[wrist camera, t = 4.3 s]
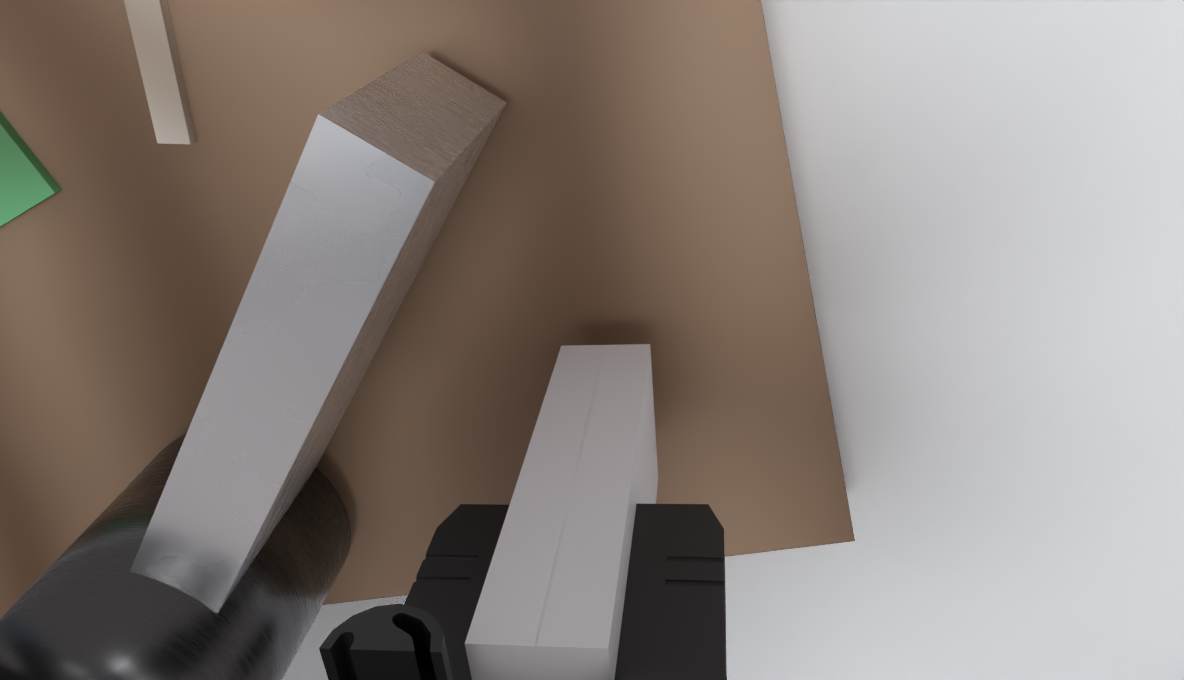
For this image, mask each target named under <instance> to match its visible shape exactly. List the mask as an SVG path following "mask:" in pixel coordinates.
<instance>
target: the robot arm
mask: <svg viewBox="0 0 1184 680" xmlns="http://www.w3.org/2000/svg"><path fill="white" fill-rule="evenodd" d="M657 487H658V465H657V448H656V432H655V415H654V398H653V382H652V365H651V349H650V344H626V345H566V346H561V348H560V351H559V354H558V357H557V360H556V363H555V366H554V370H553V373H552V376H551V379H550V382H549V385H548V388H547V391H546V394H545V397H544V400H543V403H542V407H541V410H540V413H539V416H538V419H537V422H536V425H535V428H534V431H533V434H532V437H531V440H530V444H529V447H528V450H527V453H526V456H525V459H524V462H523V465H522V468H521V471H520V474H519V477H518V481H517V484H516V487H515V490H514V493H513V496H512V499H511V502H510V505H497V504H460V505H459V506H458V507H457V508H456V509H455V510H454V511H453V512H452V513H451V514H450V515H449V516H448V517H447V518H446V519H445V520H444V521H443V522H442V523H441V524H440V525H439V526H438V527H437V528H436V531H435V533H434V535H433V538H432V540H431V542H430V545H429V547H428V550H427V552H426V558H425V560H423V561H422V564H421V566H420V568H419V571H418V573H417V576H416V582H414V583H413V585H412V587H411V590H410V592H409V594H408V597H407V599H406V601H405V604H404V605H403V604H394V605H386V606H377V607H374V608H371V609H369V610H366V611H364V612H361V613H359V614H356V615H353V616H352V617H350V618H349V619H348V620H346V621H345V622H343V623H342V624H341V625H339V626H338V627H337V628H335V629H334V630H333V631H332V632H331V633H330V635H329V636H328V637H327V639H326V640H325V641H324V643H323V644H322V645H321V647H320V648H319V649H320V653H321V656H322V659H323V662H324V666H325V669H326V672H327V676H328V679H329V680H727V676H726V604H725V553H724V528H723V527H722V525H721V523H720V522H719V520H718V519H717V517H716V515H715V514H714V512H713V511H712V509H711V507H710V506H709V504H656V498H657Z"/></svg>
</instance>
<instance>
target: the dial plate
mask: <svg viewBox="0 0 1184 680" xmlns="http://www.w3.org/2000/svg"><path fill="white" fill-rule="evenodd" d="M420 51H422V52H424V53H425V54H427V55H429V56H430V57H432V58H434V59H435V60H437V61H439V62H440V63H442V64H444V65H445V66H447V67H449V68H450V69H452V70H454V71H455V72H457V73H459V74H460V75H462V76H464V77H465V78H467V79H469V80H470V81H472V82H473V83H475V84H477V85H478V86H480V87H482V88H483V89H485V90H487V91H488V92H490V93H492V94H493V95H495V96H497V97H498V98H500V99H502V100H503V101H505V102H507V103H506V105H505V107H504V109H503V111H502V113H501V114H500V116H499V118H498V120H497V122H496V124H495V126H494V128H493V130H492V132H491V134H490V136H489V137H488V139H487V141H486V143H485V145H484V147H483V149H482V151H481V153H480V155H479V157H478V159H477V160H476V162H475V164H474V166H473V168H472V170H471V172H470V174H469V176H468V178H467V180H466V181H465V183H464V185H463V187H462V189H461V191H460V193H459V195H458V197H457V199H456V201H455V203H454V204H453V206H452V208H451V210H450V212H449V214H448V216H447V218H446V220H445V222H444V224H443V225H442V227H441V229H440V231H439V233H438V235H437V237H436V239H435V241H434V243H433V245H432V247H431V248H430V250H429V252H428V254H427V256H426V258H425V260H424V262H423V264H422V266H421V268H420V270H419V271H418V273H417V275H416V277H415V279H414V281H413V283H412V285H411V287H410V289H409V291H408V292H407V294H406V296H405V298H404V300H403V302H402V304H401V306H400V308H399V310H398V312H397V314H396V315H395V317H394V319H393V321H392V323H391V325H390V327H389V329H388V331H387V333H386V335H385V336H384V338H383V340H382V342H381V344H380V346H379V348H378V350H377V352H376V354H375V356H374V358H373V359H372V361H371V363H370V365H369V367H368V369H367V371H366V373H365V375H364V377H363V379H362V381H361V382H360V384H359V386H358V388H357V390H356V392H355V394H354V396H353V398H352V400H351V402H350V403H349V405H348V407H347V409H346V411H345V413H344V415H343V417H342V419H341V421H340V423H339V425H338V426H337V428H336V430H335V432H334V434H333V436H332V438H331V440H330V442H329V444H328V446H327V447H326V449H325V451H324V453H323V455H322V457H321V459H320V461H319V463H318V465H317V468H318V469H319V470H320V471H321V472H322V473H323V474H324V475H325V476H326V477H327V479H328V480H329V481H330V482H331V484H332V485H333V486H334V488H335V489H336V490H337V492H338V494H339V496H340V497H341V499H342V501H343V503H344V505H345V508H346V510H347V513H348V516H349V521H350V525H351V546H350V550H349V554H348V557H347V559H346V561H345V563H344V565H343V567H342V569H341V571H340V573H339V575H338V576H337V578H336V580H335V582H334V584H333V586H332V588H331V589H330V591H329V593H328V595H327V597H326V599H325V601H324V602H323V604H322V605H325V604H334V603H342V602H350V601H359V600H367V599H375V598H384V597H392V596H400V595H408V594H409V592H410V590H411V587H412V585H413V583H414V582H416V576H417V573H418V571H419V568H420V566H421V564H422V561H423V560H425V558H426V552H427V550H428V547H429V545H430V542H431V540H432V538H433V535H434V533H435V531H436V528H437V527H438V526H439V525H440V524H441V523H442V522H443V521H444V520H445V519H446V518H447V517H448V516H449V515H450V514H451V513H452V512H453V511H454V510H455V509H456V508H457V507H458V506H459V505H460V504H497V505H510V502H511V499H512V496H513V493H514V490H515V487H516V484H517V481H518V477H519V474H520V471H521V468H522V465H523V462H524V459H525V456H526V453H527V450H528V447H529V444H530V440H531V437H532V434H533V431H534V428H535V425H536V422H537V419H538V416H539V413H540V410H541V407H542V403H543V400H544V397H545V394H546V391H547V388H548V385H549V382H550V379H551V376H552V373H553V370H554V366H555V363H556V360H557V357H558V354H559V351H560V348H561V346H566V345H626V344H650V349H651V365H652V382H653V398H654V415H655V432H656V448H657V465H658V487H657V498H656V504H709V506H710V507H711V509H712V511H713V512H714V514H715V515H716V517H717V519H718V520H719V522H720V523H721V525H722V527H723V528H724V553H725V556H734V555H742V554H750V553H758V552H767V551H775V550H783V549H792V548H800V547H808V546H817V545H825V544H833V543H842V542H850V541H855V539H854V534H853V528H852V522H851V516H850V511H849V505H848V499H847V494H846V488H845V482H844V476H843V471H842V465H841V459H840V453H839V448H838V442H837V436H836V430H835V425H834V419H833V413H832V407H831V402H830V396H829V390H828V384H827V379H826V373H825V367H824V362H823V356H822V350H821V344H820V339H819V333H818V327H817V321H816V316H815V310H814V304H813V298H812V293H811V287H810V281H809V275H808V270H807V264H806V258H805V252H804V247H803V241H802V235H801V230H800V224H799V218H798V212H797V207H796V201H795V195H794V189H793V184H792V178H791V172H790V166H789V161H788V155H787V149H786V143H785V138H784V132H783V126H782V120H781V115H780V109H779V103H778V98H777V92H776V86H775V80H774V75H773V69H772V63H771V57H770V52H769V46H768V40H767V34H766V29H765V23H764V17H763V11H762V6H761V0H0V619H1V617H2V616H3V615H4V614H5V613H6V612H7V611H8V610H9V609H10V608H11V607H12V606H13V605H14V604H15V603H16V602H17V601H18V600H19V599H20V598H21V597H22V596H23V595H24V593H25V592H26V591H27V590H28V589H29V588H30V587H31V586H32V585H33V584H34V583H35V582H36V581H37V580H38V579H39V578H40V577H41V576H42V575H43V574H44V573H45V572H46V571H47V569H48V568H49V567H50V566H51V565H52V564H53V563H54V562H55V561H56V560H57V559H58V558H59V557H60V556H61V555H62V554H63V553H64V552H65V551H66V550H67V549H68V548H69V546H70V545H71V544H72V543H73V542H74V541H75V540H76V539H77V538H78V537H79V536H80V535H81V534H82V533H83V532H84V531H85V530H86V529H87V528H88V527H89V526H90V525H91V524H92V522H93V521H94V520H95V519H96V518H97V517H98V516H99V515H100V514H101V513H102V512H103V511H104V510H105V509H106V508H107V507H108V506H109V505H110V504H111V503H112V502H113V501H114V499H115V498H116V497H117V496H118V495H119V494H120V493H121V492H122V491H123V490H124V489H125V488H126V487H127V486H128V485H129V484H130V483H131V482H132V481H133V480H134V479H135V478H136V477H137V475H138V474H139V473H140V472H141V471H142V470H143V469H144V468H145V467H146V466H147V465H148V464H149V463H150V462H151V461H152V460H153V459H154V458H155V457H156V456H157V455H158V454H159V453H160V451H161V450H162V449H164V448H165V447H166V446H167V445H168V444H169V443H170V442H172V441H174V440H175V439H177V438H179V437H180V436H183V435H185V434H187V431H188V429H189V427H190V424H191V422H192V419H193V417H194V414H195V412H196V410H197V407H198V405H199V402H200V400H201V397H202V395H203V393H204V390H205V388H206V385H207V383H208V380H209V378H210V376H211V373H212V371H213V368H214V366H215V363H216V361H217V359H218V356H219V354H220V351H221V349H222V346H223V344H224V342H225V339H226V337H227V334H228V332H229V329H230V327H231V325H232V322H233V320H234V317H235V315H236V312H237V310H238V308H239V305H240V303H241V300H242V298H243V295H244V293H245V291H246V288H247V286H248V283H249V281H250V278H251V276H252V274H253V271H254V269H255V266H256V264H257V261H258V259H259V257H260V254H261V252H262V249H263V247H264V244H265V242H266V240H267V237H268V235H269V232H270V230H271V227H272V225H273V223H274V220H275V218H276V215H277V213H278V210H279V208H280V206H281V203H282V201H283V198H284V196H285V194H286V191H287V189H288V186H289V184H290V181H291V179H292V177H293V174H294V172H295V169H296V167H297V164H298V162H299V160H300V157H301V155H302V152H303V150H304V147H305V145H306V143H307V140H308V138H309V135H310V133H311V130H312V128H313V126H314V123H315V121H316V118H317V116H318V114H319V113H321V112H322V111H324V110H326V109H327V108H329V107H331V106H332V105H334V104H335V103H337V102H339V101H340V100H342V99H344V98H345V97H347V96H349V95H350V94H352V93H353V92H355V91H357V90H358V89H360V88H362V87H363V86H365V85H366V84H368V83H370V82H371V81H373V80H375V79H376V78H378V77H380V76H381V75H383V74H384V73H386V72H388V71H389V70H391V69H393V68H394V67H396V66H397V65H399V64H401V63H402V62H404V61H406V60H407V59H409V58H411V57H412V56H414V55H415V54H417V53H419V52H420Z"/></svg>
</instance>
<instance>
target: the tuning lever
mask: <svg viewBox="0 0 1184 680" xmlns="http://www.w3.org/2000/svg"><path fill="white" fill-rule="evenodd" d="M506 103H507V102H505V101H503V100H502V99H500V98H498V97H497V96H495V95H493V94H492V93H490V92H488V91H487V90H485V89H483V88H482V87H480V86H478V85H477V84H475V83H473V82H472V81H470V80H469V79H467V78H465V77H464V76H462V75H460V74H459V73H457V72H455V71H454V70H452V69H450V68H449V67H447V66H445V65H444V64H442V63H440V62H439V61H437V60H435V59H434V58H432V57H430V56H429V55H427V54H425V53H424V52H422V51H420V52H419V53H417V54H415V55H414V56H412V57H411V58H409V59H407V60H406V61H404V62H402V63H401V64H399V65H397V66H396V67H394V68H393V69H391V70H389V71H388V72H386V73H384V74H383V75H381V76H380V77H378V78H376V79H375V80H373V81H371V82H370V83H368V84H366V85H365V86H363V87H362V88H360V89H358V90H357V91H355V92H353V93H352V94H350V95H349V96H347V97H345V98H344V99H342V100H340V101H339V102H337V103H335V104H334V105H332V106H331V107H329V108H327V109H326V110H324V111H322V112H321V113H319V114H318V116H317V118H316V121H315V123H314V126H313V128H312V130H311V133H310V135H309V138H308V140H307V143H306V145H305V147H304V150H303V152H302V155H301V157H300V160H299V162H298V164H297V167H296V169H295V172H294V174H293V177H292V179H291V181H290V184H289V186H288V189H287V191H286V194H285V196H284V198H283V201H282V203H281V206H280V208H279V210H278V213H277V215H276V218H275V220H274V223H273V225H272V227H271V230H270V232H269V235H268V237H267V240H266V242H265V244H264V247H263V249H262V252H261V254H260V257H259V259H258V261H257V264H256V266H255V269H254V271H253V274H252V276H251V278H250V281H249V283H248V286H247V288H246V291H245V293H244V295H243V298H242V300H241V303H240V305H239V308H238V310H237V312H236V315H235V317H234V320H233V322H232V325H231V327H230V329H229V332H228V334H227V337H226V339H225V342H224V344H223V346H222V349H221V351H220V354H219V356H218V359H217V361H216V363H215V366H214V368H213V371H212V373H211V376H210V378H209V380H208V383H207V385H206V388H205V390H204V393H203V395H202V397H201V400H200V402H199V405H198V407H197V410H196V412H195V414H194V417H193V419H192V422H191V424H190V427H189V429H188V431H187V434H185V435H183V436H180V437H179V438H177V439H175V440H174V441H172V442H170V443H169V444H168V445H167V446H166V447H165V448H164V449H162V450H161V451H160V453H159V454H158V455H157V456H156V457H155V458H154V459H153V460H152V461H151V462H150V463H149V464H148V465H147V466H146V467H145V468H144V469H143V470H142V471H141V472H140V473H139V474H138V475H137V477H136V478H135V479H134V480H133V481H132V482H131V483H130V484H129V485H128V486H127V487H126V488H125V489H124V490H123V491H122V492H121V493H120V494H119V495H118V496H117V497H116V498H115V499H114V501H113V502H112V503H111V504H110V505H109V506H108V507H107V508H106V509H105V510H104V511H103V512H102V513H101V514H100V515H99V516H98V517H97V518H96V519H95V520H94V521H93V522H92V524H91V525H90V526H89V527H88V528H87V529H86V530H85V531H84V532H83V533H82V534H81V535H80V536H79V537H78V538H77V539H76V540H75V541H74V542H73V543H72V544H71V545H70V546H69V548H68V549H67V550H66V551H65V552H64V553H63V554H62V555H61V556H60V557H59V558H58V559H57V560H56V561H55V562H54V563H53V564H52V565H51V566H50V567H49V568H48V569H47V571H46V572H45V573H44V574H43V575H42V576H41V577H40V578H39V579H38V580H37V581H36V582H35V583H34V584H33V585H32V586H31V587H30V588H29V589H28V590H27V591H26V592H25V593H24V595H23V596H22V597H21V598H20V599H19V600H18V601H17V602H16V603H15V604H14V605H13V606H12V607H11V608H10V609H9V610H8V611H7V612H6V613H5V614H4V615H3V616H2V617H1V619H0V680H282V679H283V677H284V675H285V673H286V671H287V669H288V667H289V666H290V664H291V662H292V660H293V658H294V656H295V654H296V653H297V651H298V649H299V647H300V645H301V643H302V641H303V640H304V638H305V636H306V634H307V632H308V630H309V628H310V627H311V625H312V623H313V621H314V619H315V617H316V615H317V614H318V612H319V610H320V608H321V606H322V604H323V602H324V601H325V599H326V597H327V595H328V593H329V591H330V589H331V588H332V586H333V584H334V582H335V580H336V578H337V576H338V575H339V573H340V571H341V569H342V567H343V565H344V563H345V561H346V559H347V557H348V554H349V550H350V546H351V525H350V521H349V516H348V513H347V510H346V508H345V505H344V503H343V501H342V499H341V497H340V496H339V494H338V492H337V490H336V489H335V488H334V486H333V485H332V484H331V482H330V481H329V480H328V479H327V477H326V476H325V475H324V474H323V473H322V472H321V471H320V470H319V469H318V468H317V465H318V463H319V461H320V459H321V457H322V455H323V453H324V451H325V449H326V447H327V446H328V444H329V442H330V440H331V438H332V436H333V434H334V432H335V430H336V428H337V426H338V425H339V423H340V421H341V419H342V417H343V415H344V413H345V411H346V409H347V407H348V405H349V403H350V402H351V400H352V398H353V396H354V394H355V392H356V390H357V388H358V386H359V384H360V382H361V381H362V379H363V377H364V375H365V373H366V371H367V369H368V367H369V365H370V363H371V361H372V359H373V358H374V356H375V354H376V352H377V350H378V348H379V346H380V344H381V342H382V340H383V338H384V336H385V335H386V333H387V331H388V329H389V327H390V325H391V323H392V321H393V319H394V317H395V315H396V314H397V312H398V310H399V308H400V306H401V304H402V302H403V300H404V298H405V296H406V294H407V292H408V291H409V289H410V287H411V285H412V283H413V281H414V279H415V277H416V275H417V273H418V271H419V270H420V268H421V266H422V264H423V262H424V260H425V258H426V256H427V254H428V252H429V250H430V248H431V247H432V245H433V243H434V241H435V239H436V237H437V235H438V233H439V231H440V229H441V227H442V225H443V224H444V222H445V220H446V218H447V216H448V214H449V212H450V210H451V208H452V206H453V204H454V203H455V201H456V199H457V197H458V195H459V193H460V191H461V189H462V187H463V185H464V183H465V181H466V180H467V178H468V176H469V174H470V172H471V170H472V168H473V166H474V164H475V162H476V160H477V159H478V157H479V155H480V153H481V151H482V149H483V147H484V145H485V143H486V141H487V139H488V137H489V136H490V134H491V132H492V130H493V128H494V126H495V124H496V122H497V120H498V118H499V116H500V114H501V113H502V111H503V109H504V107H505V105H506Z"/></svg>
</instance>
